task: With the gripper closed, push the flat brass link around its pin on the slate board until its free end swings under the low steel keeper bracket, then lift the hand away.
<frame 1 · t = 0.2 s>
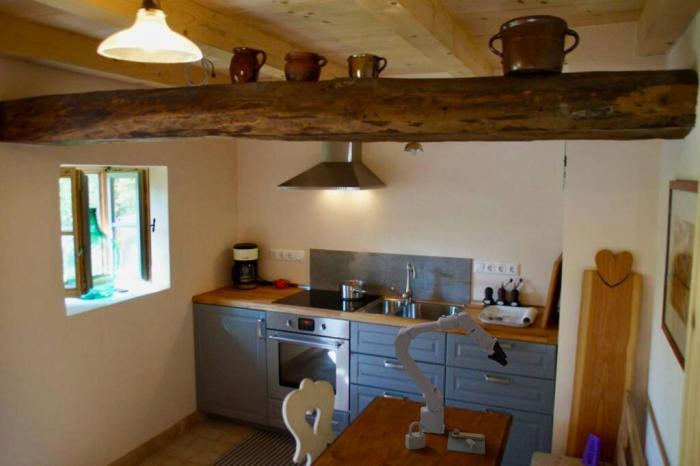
hand: (505, 361, 225), 31 cm above the table, tool tilted 45°, fingers open, 7 cm apart
pin cap: (456, 431, 225), point 2 cm above the table
steel keeper: (470, 444, 216), on the slate board, point 1 cm above the table
slate board: (466, 443, 221), on the table
padlock: (415, 447, 218), on the table
brass link: (466, 435, 225), point 1 cm above the table, hinge at 0.0°
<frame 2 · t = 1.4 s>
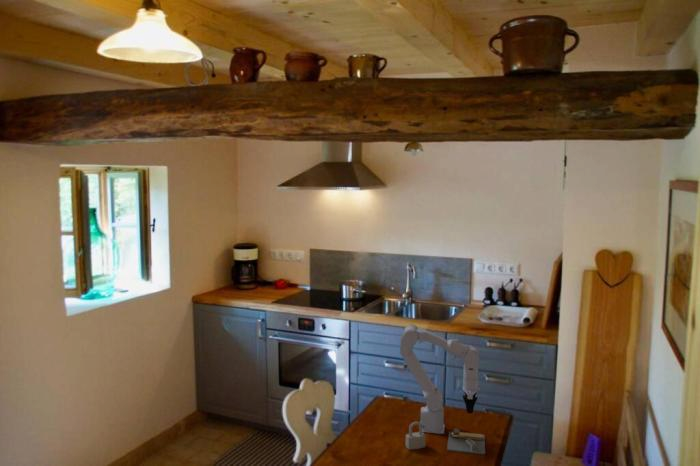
hand: (469, 409, 230), 9 cm above the table, tool pointing down, fingers open, 6 cm apart
nothing on the table moved.
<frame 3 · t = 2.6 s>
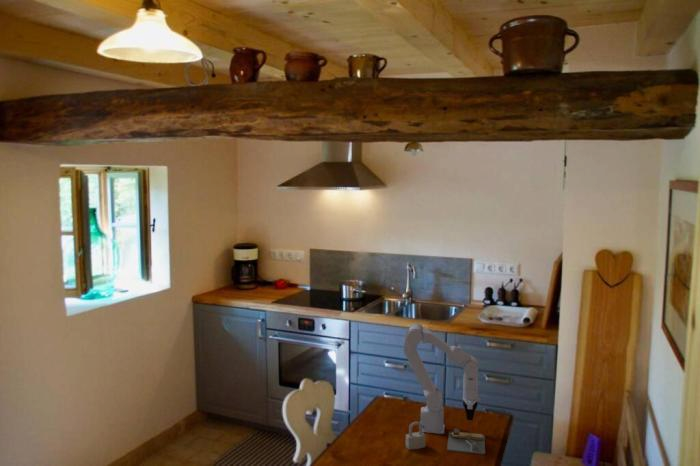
hand: (469, 419, 230), 5 cm above the table, tool pointing down, fingers closed
nothing on the table moved.
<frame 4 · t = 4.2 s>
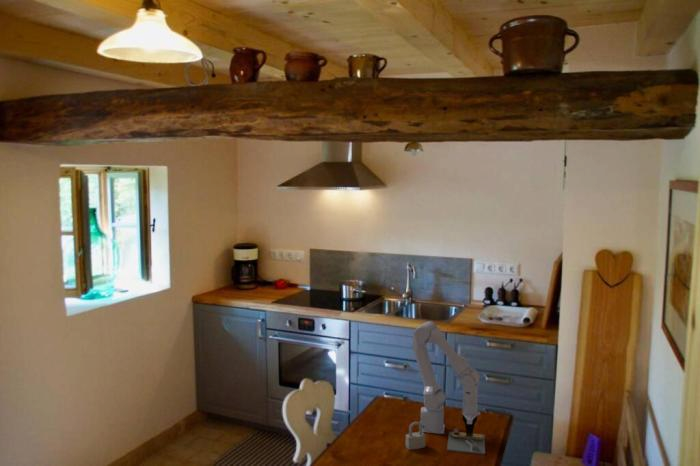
hand: (469, 434, 226), 1 cm above the table, tool pointing down, fingers closed, pressing on brass link
brass link: (466, 435, 225), point 1 cm above the table, hinge at -1.2°, touching gripper
everything else where it was.
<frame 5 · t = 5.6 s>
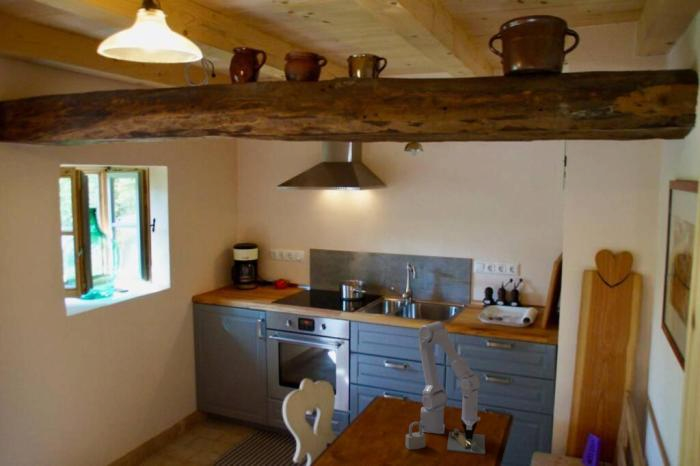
hand: (469, 439, 221), 1 cm above the table, tool pointing down, fingers closed
brass link: (461, 439, 222), point 1 cm above the table, hinge at -61.1°, touching gripper
everything else where it was.
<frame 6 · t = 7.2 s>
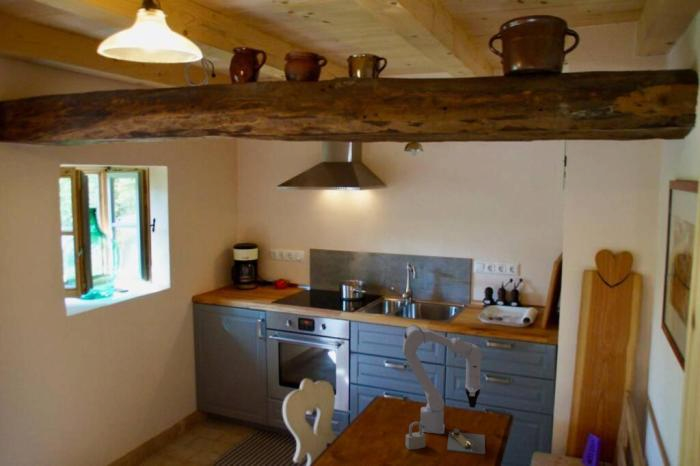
hand: (472, 406, 233), 9 cm above the table, tool pointing down, fingers closed
brass link: (461, 439, 222), point 1 cm above the table, hinge at -61.6°
everything else where it was.
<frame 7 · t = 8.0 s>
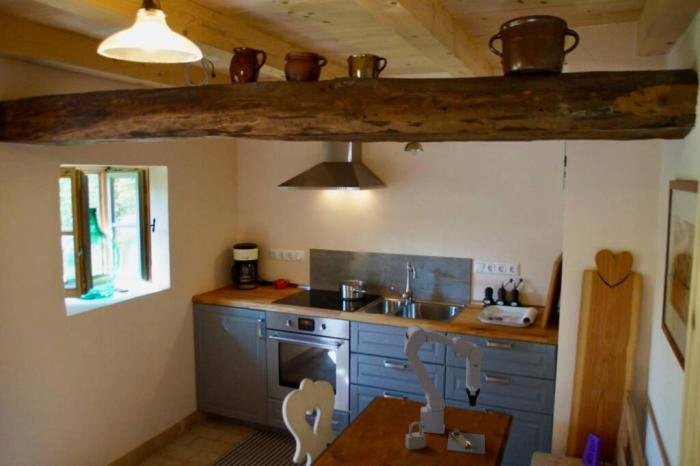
hand: (472, 405, 234), 9 cm above the table, tool pointing down, fingers closed
nothing on the table moved.
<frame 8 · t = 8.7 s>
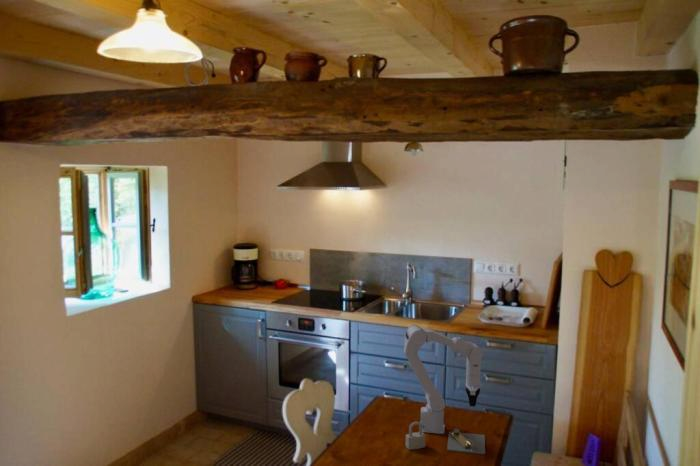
hand: (472, 405, 234), 9 cm above the table, tool pointing down, fingers closed
nothing on the table moved.
at the end: brass link at -62° (first picture: +0°); padlock moved 0.3 cm from its start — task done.
